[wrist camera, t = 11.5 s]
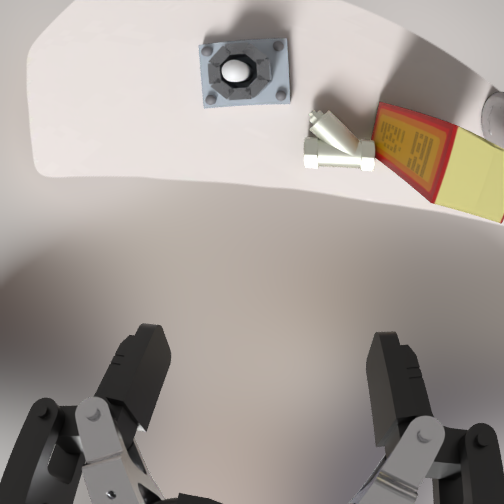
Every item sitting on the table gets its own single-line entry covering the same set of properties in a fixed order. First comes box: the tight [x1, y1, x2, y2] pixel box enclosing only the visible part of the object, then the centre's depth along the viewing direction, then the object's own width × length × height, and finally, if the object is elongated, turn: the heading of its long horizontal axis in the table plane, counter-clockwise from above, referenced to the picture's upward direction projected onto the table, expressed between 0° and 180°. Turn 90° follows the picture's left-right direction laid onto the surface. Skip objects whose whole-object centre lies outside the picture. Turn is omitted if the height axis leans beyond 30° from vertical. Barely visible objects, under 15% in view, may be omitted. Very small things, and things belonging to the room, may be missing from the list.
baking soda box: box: [371, 102, 504, 223], centre depth 26 cm, size 10×6×16 cm
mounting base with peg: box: [199, 38, 290, 108], centre depth 28 cm, size 10×8×8 cm
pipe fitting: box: [304, 110, 375, 171], centre depth 32 cm, size 8×4×7 cm
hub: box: [208, 42, 272, 100], centre depth 28 cm, size 6×6×5 cm
